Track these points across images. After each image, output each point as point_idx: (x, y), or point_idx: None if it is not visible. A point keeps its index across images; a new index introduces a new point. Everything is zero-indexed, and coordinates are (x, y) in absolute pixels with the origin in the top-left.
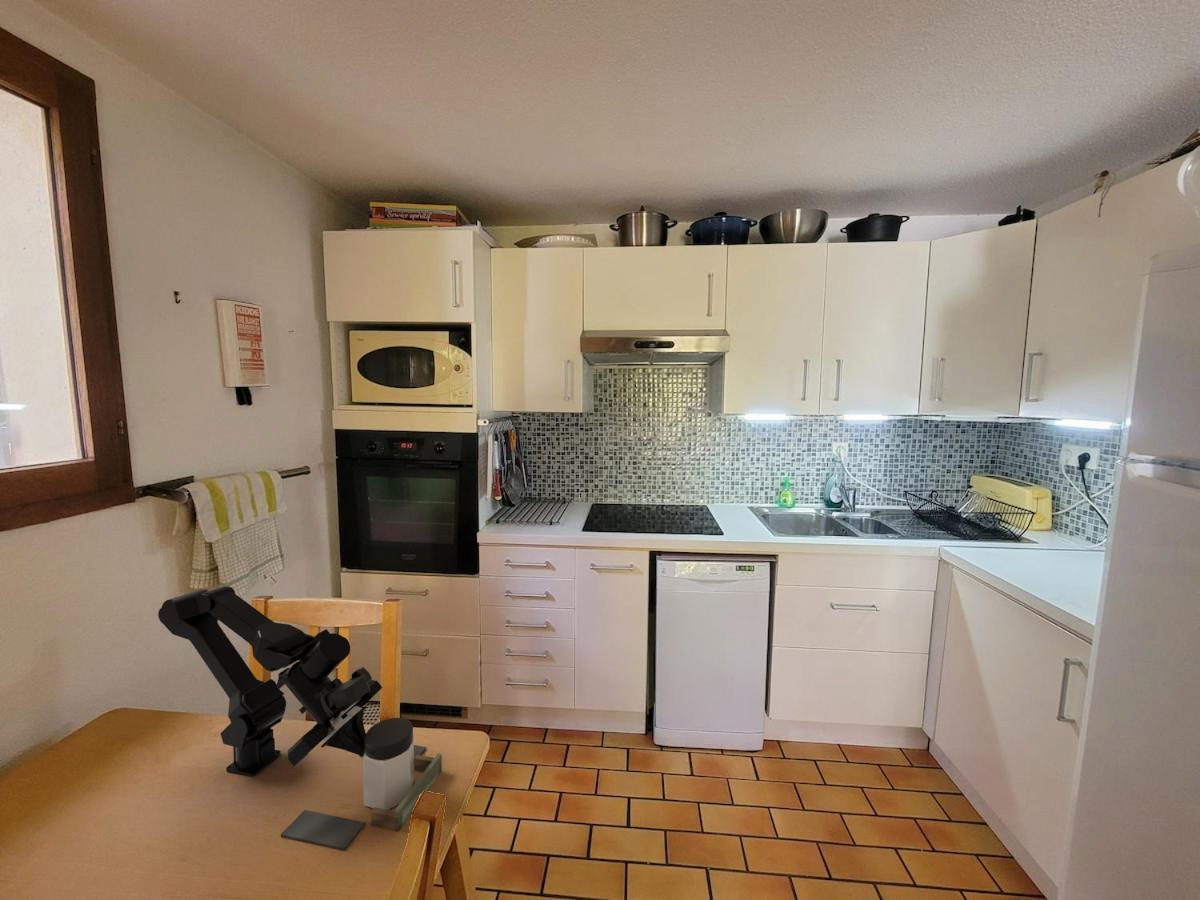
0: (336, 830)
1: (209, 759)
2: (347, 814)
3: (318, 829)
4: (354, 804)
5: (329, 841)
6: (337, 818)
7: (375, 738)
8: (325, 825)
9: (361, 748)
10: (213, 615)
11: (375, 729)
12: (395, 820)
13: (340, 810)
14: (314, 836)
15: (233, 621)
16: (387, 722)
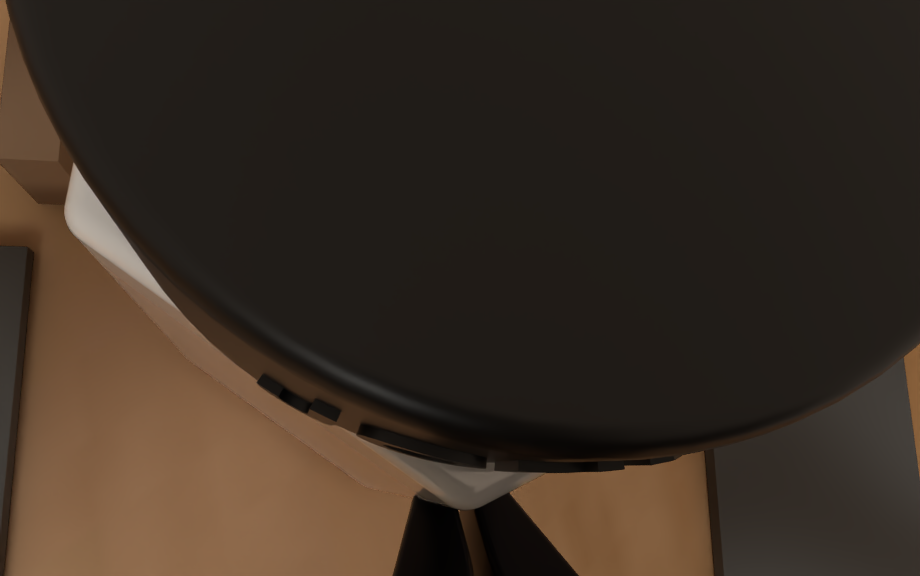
0: (812, 429)
1: None
2: (655, 470)
3: (847, 571)
4: (561, 486)
5: (892, 410)
6: (735, 502)
7: (892, 60)
8: (806, 546)
9: (568, 572)
10: None
11: (637, 253)
12: None
13: (640, 557)
14: (895, 552)
15: None
16: (284, 111)
